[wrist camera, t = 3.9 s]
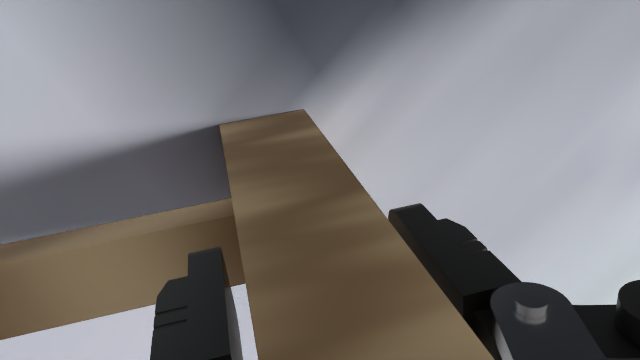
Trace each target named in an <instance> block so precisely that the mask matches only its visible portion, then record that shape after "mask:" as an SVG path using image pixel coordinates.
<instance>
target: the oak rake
mask: <svg viewBox="0 0 640 360" xmlns="http://www.w3.org/2000/svg"><path fill="white" fill-rule="evenodd" d="M219 126H220V132H221V138H222V144H223V150H224V156H225V162H226V168H227V174H228V180H229V186H230V192H231V198H229V199H224V200H219V201H214V202H209V203H204V204H199V205H194V206H189V207H184V208H179V209H174V210H170V211H165V212H160V213H155V214H150V215H145V216H140V217H135V218H130V219H125V220H120V221H115V222H110V223H106V224H101V225H96V226H91V227H86V228H81V229H76V230H71V231H66V232H61V233H56V234H51V235H47V236H42V237H37V238H32V239H27V240H22V241H17V242H12V243H7V244H2V245H0V340H2V339H7V338H11V337H15V336H20V335H24V334H28V333H33V332H37V331H41V330H46V329H50V328H54V327H59V326H63V325H67V324H72V323H76V322H80V321H85V320H89V319H93V318H98V317H102V316H106V315H111V314H115V313H119V312H124V311H128V310H132V309H137V308H141V307H145V306H150V305H154V304H156V299H157V296H158V294H159V293H160V291H161V290H162V288H163V287H164V286H165V284H166V283H167V281H168V280H172V279H177V278H181V277H186V276H188V253H192V252H197V251H201V250H206V249H210V248H215V247H220V246H221V249H222V252H223V256H224V261H225V265H226V269H227V274H228V278H229V282H230V287H232V286H236V285H241V284H245V283H246V288H247V294H248V301H249V307H250V313H251V319H252V325H253V331H254V337H255V343H256V349H257V355H258V360H494V358H493V357H492V356H491V354H490V353H489V352H488V350H487V349H486V348H485V346H484V345H483V344H482V342H481V341H480V340H479V339H478V337H477V336H476V335H475V333H474V332H473V331H472V329H471V328H470V327H469V325H468V324H467V323H466V321H465V320H464V319H463V318H462V316H461V315H460V314H459V312H458V311H457V310H456V308H455V307H454V306H453V304H452V303H451V302H450V300H449V299H448V298H447V296H446V295H445V294H444V293H443V291H442V290H441V289H440V287H439V286H438V285H437V283H436V282H435V281H434V279H433V278H432V277H431V275H430V274H429V273H428V272H427V270H426V269H425V268H424V266H423V265H422V264H421V262H420V261H419V260H418V258H417V257H416V256H415V254H414V253H413V252H412V250H411V249H410V248H409V247H408V245H407V244H406V243H405V241H404V240H403V239H402V237H401V236H400V235H399V233H398V232H397V231H396V229H395V228H394V227H393V226H392V224H391V223H390V222H389V220H388V219H387V218H386V216H385V215H384V214H383V212H382V211H381V210H380V208H379V207H378V206H377V204H376V203H375V202H374V201H373V199H372V198H371V197H370V195H369V194H368V193H367V191H366V190H365V189H364V187H363V186H362V185H361V183H360V182H359V181H358V180H357V178H356V177H355V176H354V174H353V173H352V172H351V170H350V169H349V168H348V166H347V165H346V164H345V162H344V161H343V160H342V158H341V157H340V156H339V155H338V153H337V152H336V151H335V149H334V148H333V147H332V145H331V144H330V143H329V141H328V140H327V139H326V137H325V136H324V135H323V134H322V132H321V131H320V130H319V128H318V127H317V126H316V124H315V123H314V122H313V120H312V119H311V118H310V116H309V115H308V114H307V113H306V111H305V110H298V111H292V112H287V113H281V114H276V115H270V116H265V117H259V118H253V119H248V120H242V121H237V122H231V123H226V124H220V125H219Z"/></svg>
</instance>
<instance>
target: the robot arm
mask: <svg viewBox="0 0 640 360" xmlns="http://www.w3.org/2000/svg"><path fill="white" fill-rule="evenodd" d="M388 220H389V222H390V223H391V224H392V226H393V227H394V228H395V229H396V231H397V232H398V233H399V235H400V236H401V237H402V239H403V240H404V241H405V243H406V244H407V245H408V247H409V248H410V249H411V250H412V252H413V253H414V254H415V256H416V257H417V258H418V260H419V261H420V262H421V264H422V265H423V266H424V268H425V269H426V270H427V272H428V273H429V274H430V275H431V277H432V278H433V279H434V281H435V282H436V283H437V285H438V286H439V287H440V289H441V290H442V291H443V293H444V294H445V295H446V296H447V298H448V299H449V300H450V302H451V303H452V304H453V306H454V307H455V308H456V310H457V311H458V312H459V314H460V315H461V316H462V318H463V319H464V320H465V321H466V323H467V324H468V325H469V327H470V328H471V329H472V331H473V332H474V333H475V335H476V336H477V337H478V339H479V340H480V341H481V342H482V344H483V345H484V346H485V348H486V349H487V350H488V352H489V353H490V354H491V356H492V357H493V358H494V360H640V280H637V281H632V282H629V283H627V284H625V285H624V286H623V287H621V289H620V290H619V293H618V299H617V305H572V304H571V303H570V301H569V300H568V299H567V298H566V297H565V296H564V295H563V294H561V293H560V292H558V291H556V290H554V289H552V288H550V287H547V286H545V285H541V284H537V283H530V282H521V281H520V280H519V279H518V278H517V277H516V276H515V275H514V274H513V273H512V272H511V271H510V270H509V269H508V268H507V267H506V266H505V265H504V264H503V263H502V262H501V261H500V260H499V259H498V258H497V257H496V256H494V255H493V254H492V253H491V252H490V251H487V248H486V247H485V246H484V245H483V244H482V243H481V242H480V241H477V238H476V237H475V236H474V235H473V234H472V233H471V232H470V231H469V230H468V229H467V228H466V227H464V226H462V225H460V224H458V223H455V222H453V221H451V220H449V219H447V218H446V219H441V220H437V219H436V218H435V217H434V216H433V215H432V214H431V213H430V212H429V211H428V210H427V209H426V208H425V207H424V206H423V205H422V204H420V203H419V204H414V205H410V206H405V207H400V208H396V209H391V210H390V211H389V215H388ZM150 360H243V356H242V348H241V341H240V333H239V326H238V320H237V314H236V309H235V304H234V300H233V295H232V291H231V287H230V282H229V278H228V274H227V269H226V265H225V261H224V256H223V252H222V249H221V246H220V247H215V248H210V249H206V250H201V251H197V252H192V253H188V276H186V277H181V278H177V279H172V280H168V281H167V283H166V284H165V286H164V287H163V288H162V290H161V291H160V293H159V294H158V296H157V299H156V308H155V318H154V330H153V337H152V346H151V355H150Z"/></svg>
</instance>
